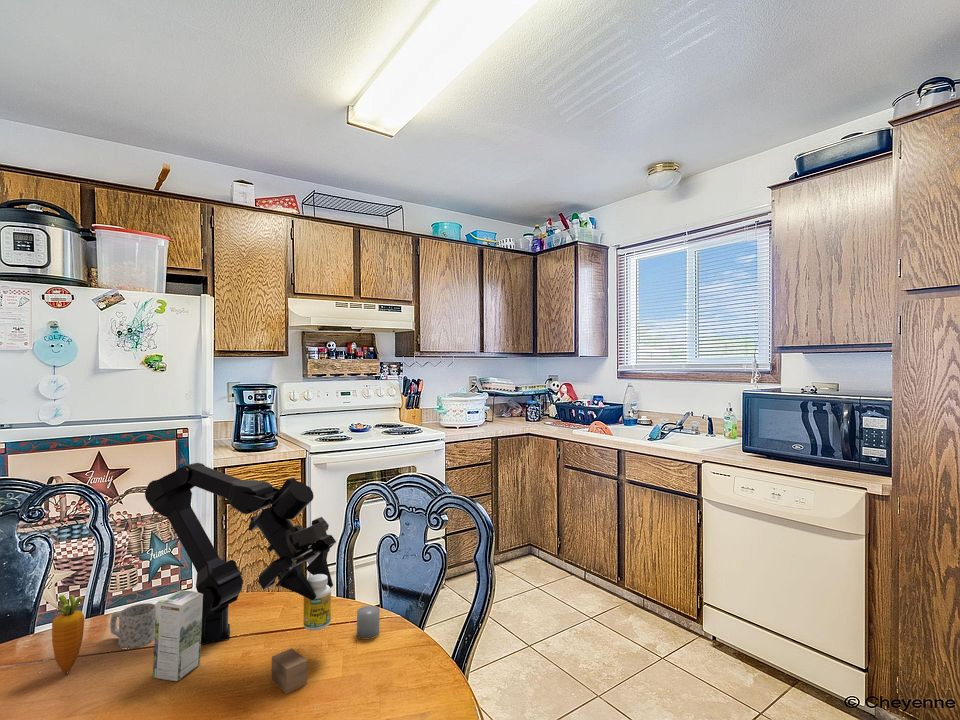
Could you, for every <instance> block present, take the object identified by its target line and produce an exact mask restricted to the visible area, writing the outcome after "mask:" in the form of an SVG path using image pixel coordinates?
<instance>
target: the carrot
mask: <svg viewBox="0 0 960 720" xmlns="http://www.w3.org/2000/svg"><path fill="white" fill-rule="evenodd" d="M68 599H69V601H68ZM68 599H67V597H66V596H65V595H64V594H61V595H58V600H59V602H60V603H61V604H62V606H61V605H59V606H57V607H56V609H57V610H59V611H61V613H60V614H59V615H57V616H56V617H54V618H53V620H52V622H51V638H52V639H51V642H52V643H51V644H52V650H53V654H54V658H55V659H54V660H55V661H56V663H57V665H58V667H59V669H60V670H61V671H62V673H63V674H68V673H69V672H71V669H72V668H73V666H74V664H75V663H76V661H77V659H78V657H79V655H80V650H81V647H82V643H83V639H84V638H83V637H84V629H85V614H84V613H83V611H82V610H76V609H77V607H78V606H79V604H80V602H81V601H82V600H83V597H82V596H78V597H77V598H75V595H73V594H72V595H69V596H68ZM69 602H70V603H69ZM67 672H68V673H67Z"/></svg>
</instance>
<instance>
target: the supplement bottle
mask: <svg viewBox="0 0 960 720" xmlns="http://www.w3.org/2000/svg"><path fill="white" fill-rule="evenodd" d="M306 579H307V581H308V582H309V584H310V585H311V587H312V589H313V590H314V592H315V594H316V598H315V599H314V600H310V599H308V598H306V597H304V596H303V627H304V629H306V630H307V631H320V630H323V629H325V628H327V627H328V626H329V625H330V624H331V621H332V619H331V618H332V617H331V616H332V587H331V588H330V587H329V586H328V585H327V583H328V577H327V575H324V574H316V575H312V574H311V576H310V575H309V576H308V578H306Z"/></svg>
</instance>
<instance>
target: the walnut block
mask: <svg viewBox="0 0 960 720" xmlns="http://www.w3.org/2000/svg"><path fill="white" fill-rule="evenodd" d="M270 676H271V681H272V683H274V684H275V685H276V686H277V687H278V688H279V690H280V689H281V690H282V692H283V693H284V694H286V695H287V694H289V693H291V692H293V691H295V690H297V689H299V688H301V687H304V686H306V685H307V684H308V681H307V680H308V659H307V658H305V657H304V656H303V655H301V654H300V653H299V652H297V650H295V649H294V648H293V647H292V648H289V649H287V650H283V651H281V652H279V653H277V654H274V655H272V656H271V675H270Z"/></svg>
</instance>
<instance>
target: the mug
mask: <svg viewBox="0 0 960 720" xmlns="http://www.w3.org/2000/svg"><path fill="white" fill-rule="evenodd" d="M155 620H156V603H152V602H145V603H144V602H143V603H138V604H132V605H131V606H128V607H126V608H123V609H122V610H121V611H115V612H113V613H112V614H111V616H110V627H109V628H110V632H111V634H112V635H114V636H116V637H117V638H118V643H117V644H118V645H117V646H119V647H120V648H119V647H118V648H119V649H121V648H127V649H126V650H132V649H131V648H135V649H138V647H139V648H141V646H142V647H144V646H147V645H149V644H151V643H152V642H153V641H155ZM117 621H118V623H119V624H118V625H117ZM128 648H129V649H128Z"/></svg>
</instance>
